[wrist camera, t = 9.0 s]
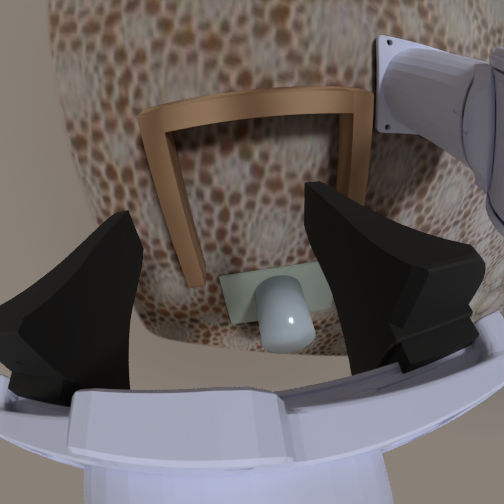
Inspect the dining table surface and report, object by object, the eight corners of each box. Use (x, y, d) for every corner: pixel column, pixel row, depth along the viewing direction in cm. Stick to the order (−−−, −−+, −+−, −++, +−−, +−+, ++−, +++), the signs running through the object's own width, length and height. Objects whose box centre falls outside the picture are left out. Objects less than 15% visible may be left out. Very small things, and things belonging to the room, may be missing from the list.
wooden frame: (357, 87, 16) (374, 93, 15) (345, 245, 26) (354, 262, 24) (146, 108, 16) (136, 116, 14) (190, 268, 26) (188, 287, 24)
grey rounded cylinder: (316, 300, 31) (330, 345, 26) (279, 319, 32) (288, 363, 28) (286, 267, 27) (300, 317, 22) (244, 291, 28) (251, 340, 24)
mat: (338, 257, 27) (339, 259, 27) (330, 307, 32) (330, 308, 32) (219, 275, 27) (219, 277, 27) (231, 322, 32) (231, 324, 32)
